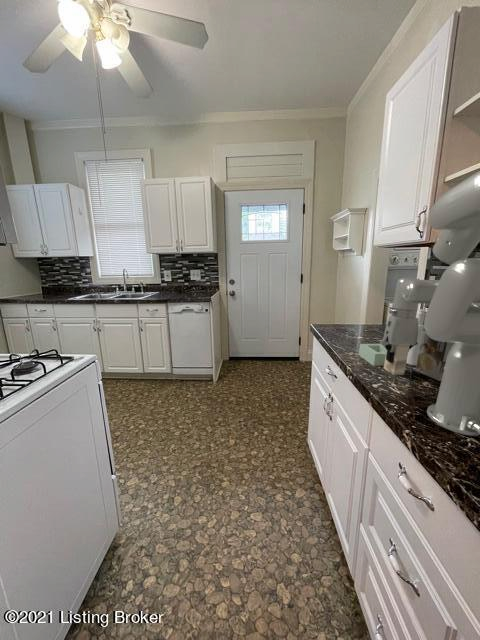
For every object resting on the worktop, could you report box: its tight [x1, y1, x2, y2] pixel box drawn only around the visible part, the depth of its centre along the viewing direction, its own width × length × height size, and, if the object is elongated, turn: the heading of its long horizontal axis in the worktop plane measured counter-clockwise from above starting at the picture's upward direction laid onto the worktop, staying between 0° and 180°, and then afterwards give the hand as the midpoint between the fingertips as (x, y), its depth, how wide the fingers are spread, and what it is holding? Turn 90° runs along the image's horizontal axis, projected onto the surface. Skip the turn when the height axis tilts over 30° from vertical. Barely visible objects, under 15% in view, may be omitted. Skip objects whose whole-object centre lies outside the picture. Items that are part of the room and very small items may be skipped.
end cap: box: [358, 343, 387, 367], centre depth 110 cm, size 12×10×5 cm
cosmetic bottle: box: [406, 309, 426, 366], centre depth 106 cm, size 6×6×22 cm
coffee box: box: [415, 330, 455, 382], centre depth 96 cm, size 9×6×16 cm
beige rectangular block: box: [383, 344, 410, 376], centre depth 98 cm, size 6×4×12 cm, turn 5°
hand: (395, 360), depth 99 cm, fingers closed on beige rectangular block, 4 cm apart
